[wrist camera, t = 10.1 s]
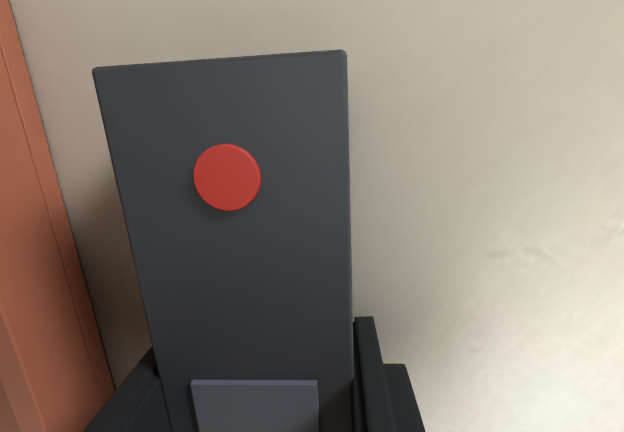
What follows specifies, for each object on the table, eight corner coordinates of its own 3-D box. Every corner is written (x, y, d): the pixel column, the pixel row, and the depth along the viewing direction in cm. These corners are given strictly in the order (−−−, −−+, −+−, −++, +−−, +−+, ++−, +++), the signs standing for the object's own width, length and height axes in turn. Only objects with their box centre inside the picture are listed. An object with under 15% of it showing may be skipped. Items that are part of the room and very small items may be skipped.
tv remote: (238, 531, 12) (213, 642, 10) (163, 84, 8) (81, 64, 5) (354, 536, 12) (359, 651, 9) (342, 72, 8) (347, 45, 5)
